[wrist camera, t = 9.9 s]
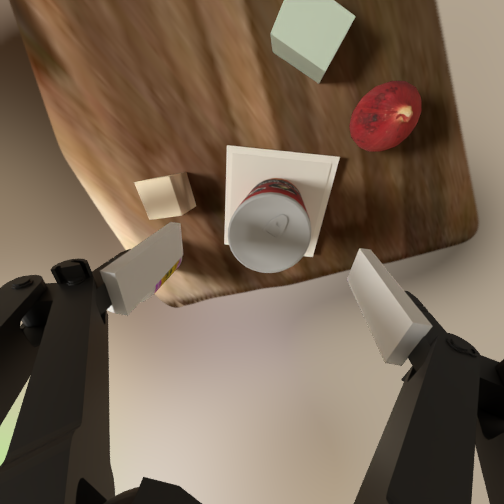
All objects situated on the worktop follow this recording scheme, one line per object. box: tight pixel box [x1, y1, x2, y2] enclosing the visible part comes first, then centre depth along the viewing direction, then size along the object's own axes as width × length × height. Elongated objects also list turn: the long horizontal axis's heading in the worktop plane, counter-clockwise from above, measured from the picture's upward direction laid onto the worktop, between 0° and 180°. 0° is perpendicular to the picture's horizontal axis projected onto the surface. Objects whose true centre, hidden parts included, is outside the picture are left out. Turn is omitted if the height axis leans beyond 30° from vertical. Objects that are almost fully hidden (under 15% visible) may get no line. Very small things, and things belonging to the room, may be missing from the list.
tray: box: [224, 145, 340, 257], centre depth 28 cm, size 14×14×1 cm
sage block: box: [271, 0, 356, 83], centre depth 19 cm, size 4×6×4 cm, turn 62°
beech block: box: [134, 172, 196, 220], centre depth 28 cm, size 5×5×5 cm
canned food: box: [228, 178, 311, 273], centre depth 23 cm, size 8×8×11 cm
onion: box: [349, 81, 421, 151], centre depth 19 cm, size 6×6×8 cm
